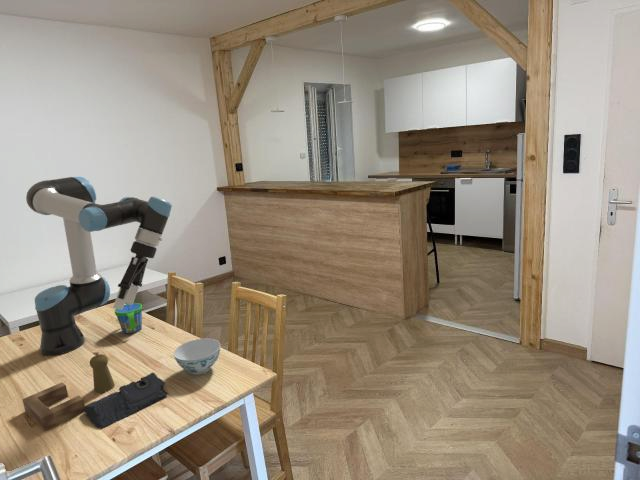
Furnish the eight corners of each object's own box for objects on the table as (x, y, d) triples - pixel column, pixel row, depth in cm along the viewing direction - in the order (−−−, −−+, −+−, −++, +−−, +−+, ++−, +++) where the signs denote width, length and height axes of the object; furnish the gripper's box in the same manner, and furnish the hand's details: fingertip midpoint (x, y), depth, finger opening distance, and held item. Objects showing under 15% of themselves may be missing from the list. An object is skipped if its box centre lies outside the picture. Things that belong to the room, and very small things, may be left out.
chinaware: (168, 372, 147) (164, 351, 146) (207, 354, 158) (204, 334, 156) (192, 387, 137) (189, 364, 135) (232, 366, 148) (229, 345, 146)
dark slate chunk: (79, 412, 130) (76, 397, 129) (151, 379, 145) (148, 366, 144) (98, 433, 119) (95, 418, 118) (173, 395, 134) (171, 382, 133)
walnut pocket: (64, 393, 140) (62, 382, 139) (85, 410, 129) (83, 398, 128) (25, 411, 132) (22, 399, 131) (44, 431, 121) (41, 418, 120)
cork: (106, 393, 138) (99, 361, 135) (89, 392, 139) (82, 361, 136) (118, 383, 143) (112, 352, 141) (102, 382, 145) (95, 351, 142)
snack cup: (146, 334, 179) (142, 311, 177) (118, 340, 175) (113, 317, 173) (145, 320, 193) (141, 299, 191) (119, 326, 189) (114, 304, 187)
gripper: (150, 246, 133) (125, 314, 131) (163, 248, 157) (142, 305, 155) (124, 238, 132) (99, 307, 130) (142, 241, 156) (121, 298, 154)
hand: (123, 306), depth 142 cm, fingers open, 13 cm apart
